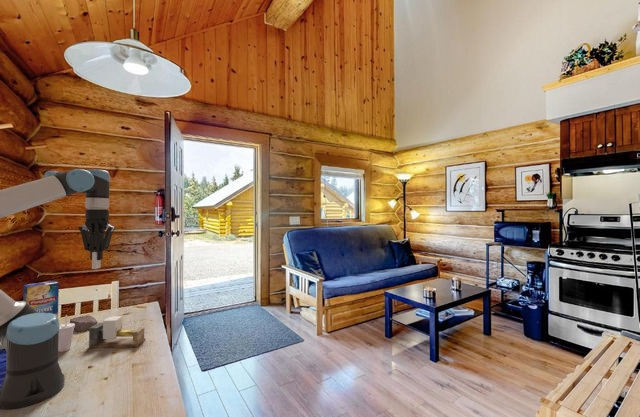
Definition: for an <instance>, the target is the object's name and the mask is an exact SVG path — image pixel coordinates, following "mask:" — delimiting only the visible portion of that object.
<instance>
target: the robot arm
mask: <svg viewBox="0 0 640 417" xmlns="http://www.w3.org/2000/svg"><path fill="white" fill-rule="evenodd" d="M43 176H44V177H42V178H40V179H36V180H33V181H27V182H23V183H21V184H18V185H17V184H16V185H14V186H10V187H6V188H3V189H0V219H2V218H5V217H8V216H12V215H13V214H17V213H19V212H23V211H25V210H28V209H32V208H35V207H38V206H41V205H44V204H47V203H49V202H53V201H56V200H59V199H62V198H65V197H67V196H72V195H74V194H85V206H84V207H85V211H84V215H85V216H84V218H85V222H84V224H83V225H80V226H78V227H77V229H78V231H79V232H80V234H81V239H82V243H83V248H84V251H87V252H89V260H90V261H91V270H97V269H101V263H102V262H101V261H102V260H103V258H104V256H103V254H104V251H107V250H109V247H110V243H111V240H112V238H113V237H112V236H113V232H115V230H116V226H115V225H114V226H113V225H111V224H110V222H109V218H110V210H109V209H110V191H111V190H110V187H111V186H110V185H111V177H110V173H109V171H107V170H104V169H87V170H86V169H82V168H74V169H71V170H66V171H59V170H48V171H47V170H46V172H45V173H44V175H43ZM59 325H61V324H60V321H59V316H58V317H57V316H56V315H55V314H52V313H40V312H38V311H36V310H35V309H34V308H32V307H31V306H30V305H29V304H27V303H26V302H25V301H23V300H20V301H16V300H14V299H13V298H12V297H10V296H9V295H8V294H7V293H5V291H3V290H2V289H0V344H1V345H2V346H3V348H4V349H5V351H6V352H5V353H6V356H5V357H6V360H5V362H6V363H5V366H6V367H5V377H4V378H3V382H2V383H1V386H0V409H2V410H12V409H18V408H25V407H27V406H30V405H35V404H37V403H39V402H43V401H44V400H47V399H49V398H50V397H53V396H54V395H56V394H58V392H60V391H61V390H62V389H63V388H64V386H65V383H66V382H65V380H66V379H65V378H66V377H65V375H64V373H63V372H62V369H61V367H60V363H59V351H58V341H59V327H60V326H59Z"/></svg>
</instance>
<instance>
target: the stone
mask: <svg viewBox="0 0 640 417" xmlns="http://www.w3.org/2000/svg"><path fill="white" fill-rule="evenodd" d="M69 323H74V324H75V327H74V330H75V331H76V332H79V333H83V332H84V331H88V330H89V328H91V327H92V326H94V325H96V324H98V323H99V322H98V320H97V318H95V317H94V316H93V315H92V316H91V315H89V314H88V315H83V316H82V315H80V316H76V317H73V318H69Z"/></svg>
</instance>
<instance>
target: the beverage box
mask: <svg viewBox="0 0 640 417" xmlns="http://www.w3.org/2000/svg"><path fill="white" fill-rule="evenodd" d="M59 286H60V282H58V281H56V280H50V281H43V282H36V283H29V284H24V285H23V299H22V301H25V302H26V303H27V304H29V305H30V306H31V307H32V308H34V309H35V310H36V311H38V312H40V313H52V314H55V315H56V316H57V317H58V318H59V297H60V296H59V291H60V289H59V288H60V287H59Z"/></svg>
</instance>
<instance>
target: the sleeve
mask: <svg viewBox="0 0 640 417" xmlns="http://www.w3.org/2000/svg"><path fill="white" fill-rule="evenodd" d="M102 323H103V339H118V337H117V331H118V330H123V316H121V315H120V316H119V315H118V316H108V317H107V318H105V319H104V320H103V321H102Z"/></svg>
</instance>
